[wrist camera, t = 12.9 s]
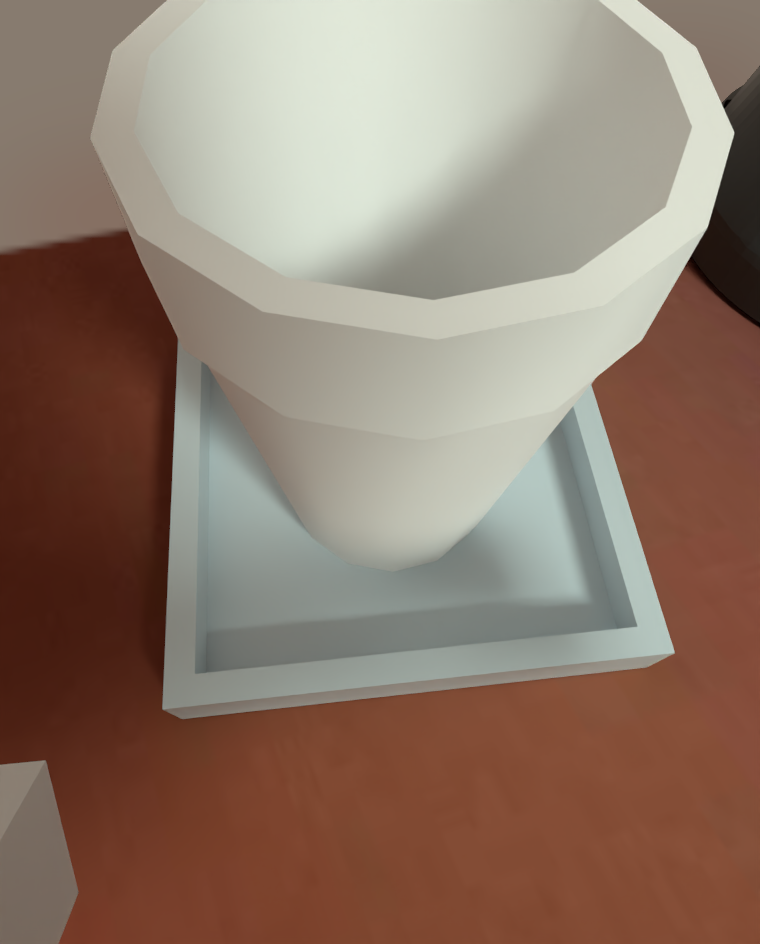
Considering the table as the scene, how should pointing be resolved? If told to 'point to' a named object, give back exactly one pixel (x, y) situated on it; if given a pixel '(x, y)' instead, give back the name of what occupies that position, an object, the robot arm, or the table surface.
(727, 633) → the table surface
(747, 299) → the robot arm
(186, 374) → the dish
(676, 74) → the foam cup
